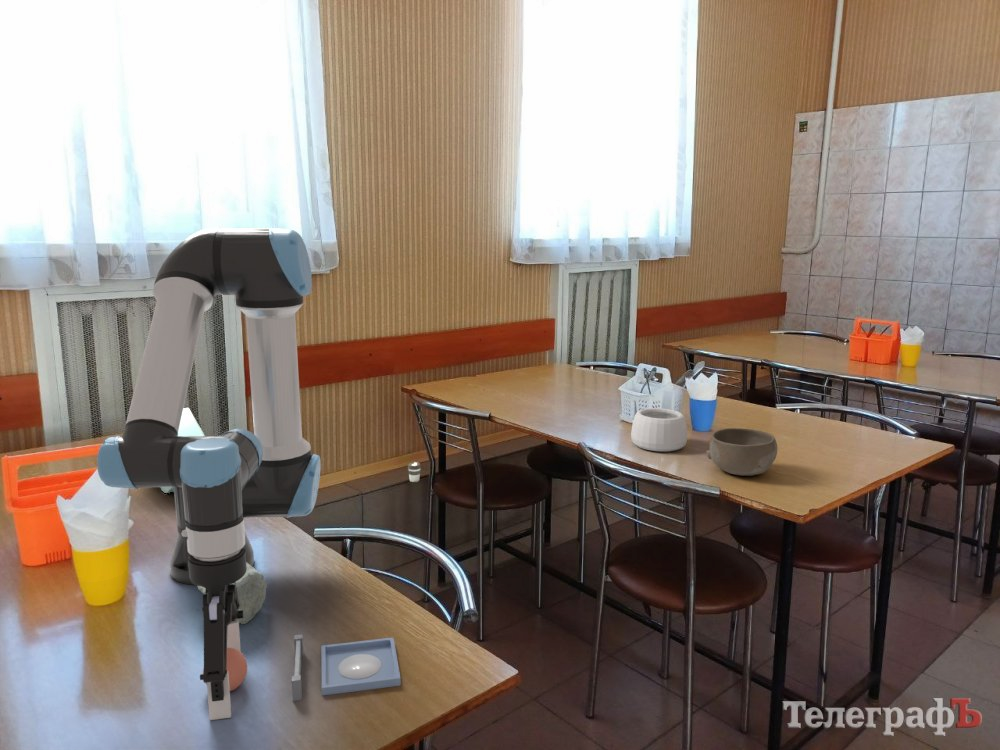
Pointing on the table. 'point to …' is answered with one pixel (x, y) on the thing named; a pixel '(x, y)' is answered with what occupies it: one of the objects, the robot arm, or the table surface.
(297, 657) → the fence
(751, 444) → the bowl
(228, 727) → the table surface
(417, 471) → the coffee cup
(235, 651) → the ball
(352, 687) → the dish
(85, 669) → the table surface
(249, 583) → the decorative stone
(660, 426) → the white faceted pot
